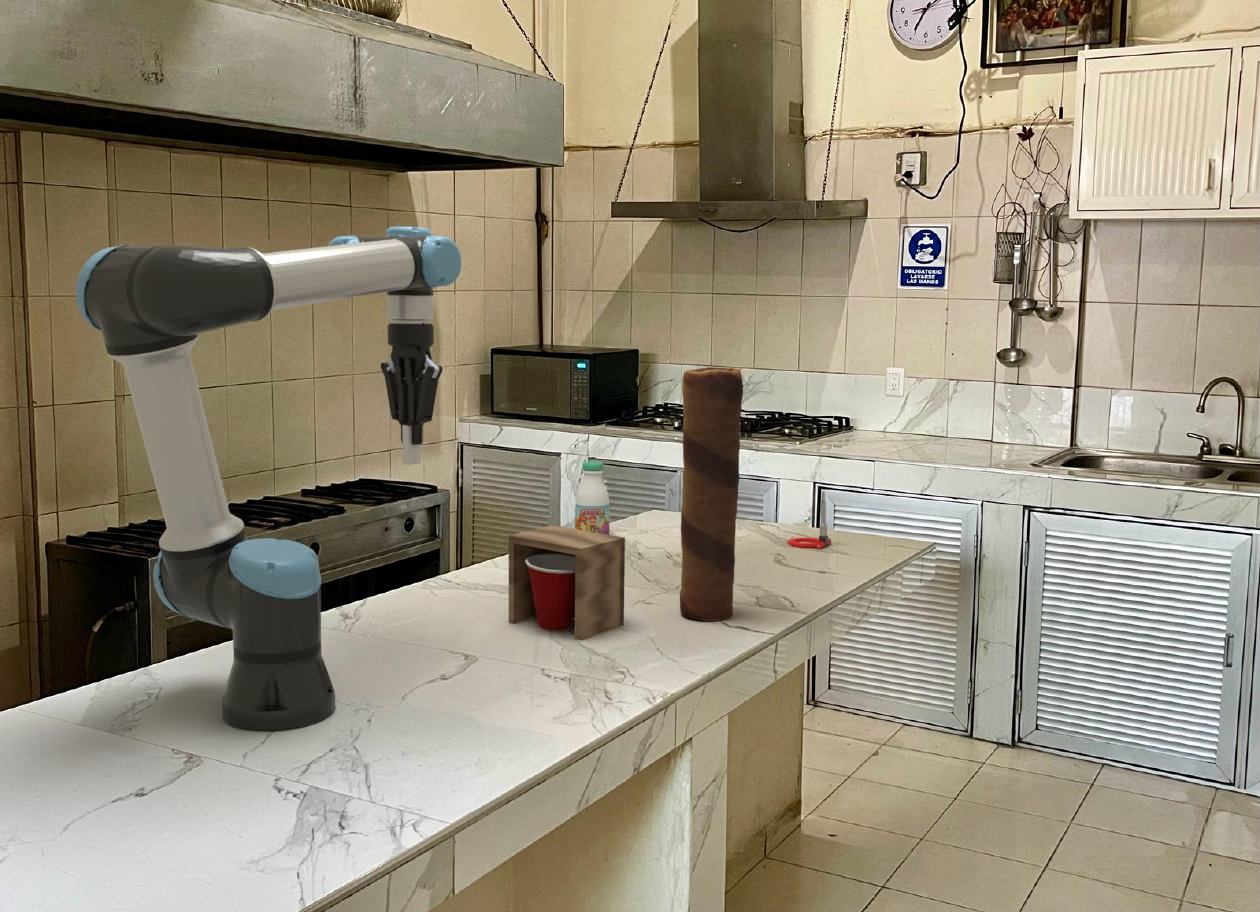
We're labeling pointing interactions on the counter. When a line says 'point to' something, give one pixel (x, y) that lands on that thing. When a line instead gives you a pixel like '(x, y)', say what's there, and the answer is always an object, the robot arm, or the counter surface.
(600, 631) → the open wooden crate
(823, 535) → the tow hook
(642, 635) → the counter surface
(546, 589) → the plastic cup
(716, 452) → the wafer roll
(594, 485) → the milk bottle
